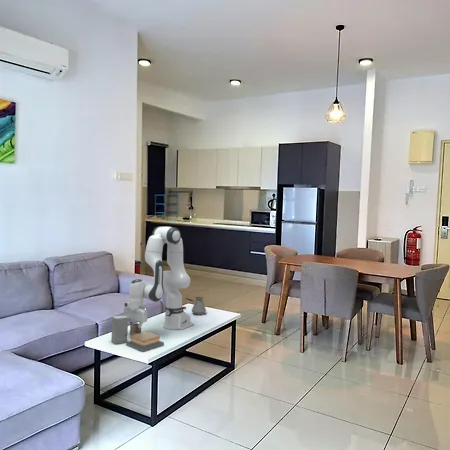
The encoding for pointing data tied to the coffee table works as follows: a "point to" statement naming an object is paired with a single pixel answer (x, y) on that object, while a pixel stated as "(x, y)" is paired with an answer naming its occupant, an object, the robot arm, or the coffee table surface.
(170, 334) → the coffee table surface
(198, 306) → the coffee pot
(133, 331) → the walnut column
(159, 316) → the coffee table surface
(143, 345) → the stand
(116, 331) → the skincare box
